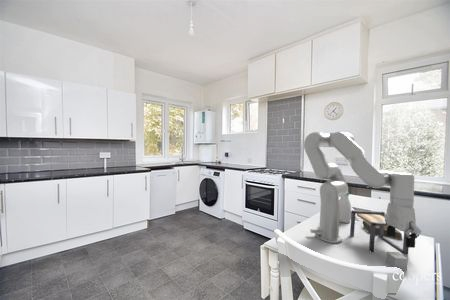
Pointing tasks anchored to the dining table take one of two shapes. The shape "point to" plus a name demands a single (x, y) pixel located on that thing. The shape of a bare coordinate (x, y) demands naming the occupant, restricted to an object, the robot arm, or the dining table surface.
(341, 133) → the robot arm
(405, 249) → the frame
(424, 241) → the dining table surface
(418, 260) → the dining table surface
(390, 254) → the granite block
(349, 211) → the milk bottle
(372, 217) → the trapdoor
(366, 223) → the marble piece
